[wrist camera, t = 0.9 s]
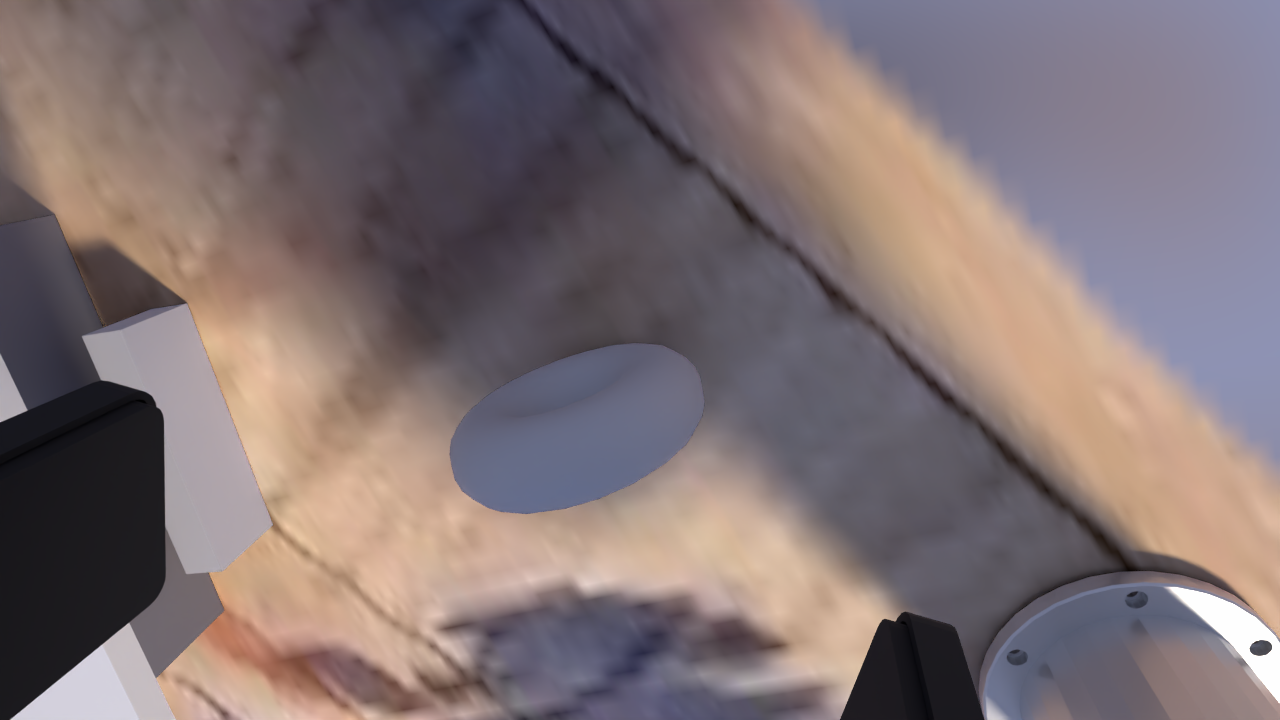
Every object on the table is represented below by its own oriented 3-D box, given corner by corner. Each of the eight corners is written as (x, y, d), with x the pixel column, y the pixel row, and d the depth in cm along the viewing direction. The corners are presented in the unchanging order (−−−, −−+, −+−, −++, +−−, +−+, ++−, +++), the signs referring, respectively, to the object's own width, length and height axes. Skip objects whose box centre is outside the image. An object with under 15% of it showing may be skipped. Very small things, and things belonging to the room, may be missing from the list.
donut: (700, 307, 32) (672, 402, 23) (723, 381, 34) (706, 500, 24) (488, 365, 35) (387, 473, 26) (515, 433, 36) (428, 559, 27)
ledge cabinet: (354, 602, 41) (172, 835, 29) (118, 617, 44) (-139, 833, 32) (202, 185, 34) (-126, 252, 22) (-65, 238, 37) (-487, 323, 25)
